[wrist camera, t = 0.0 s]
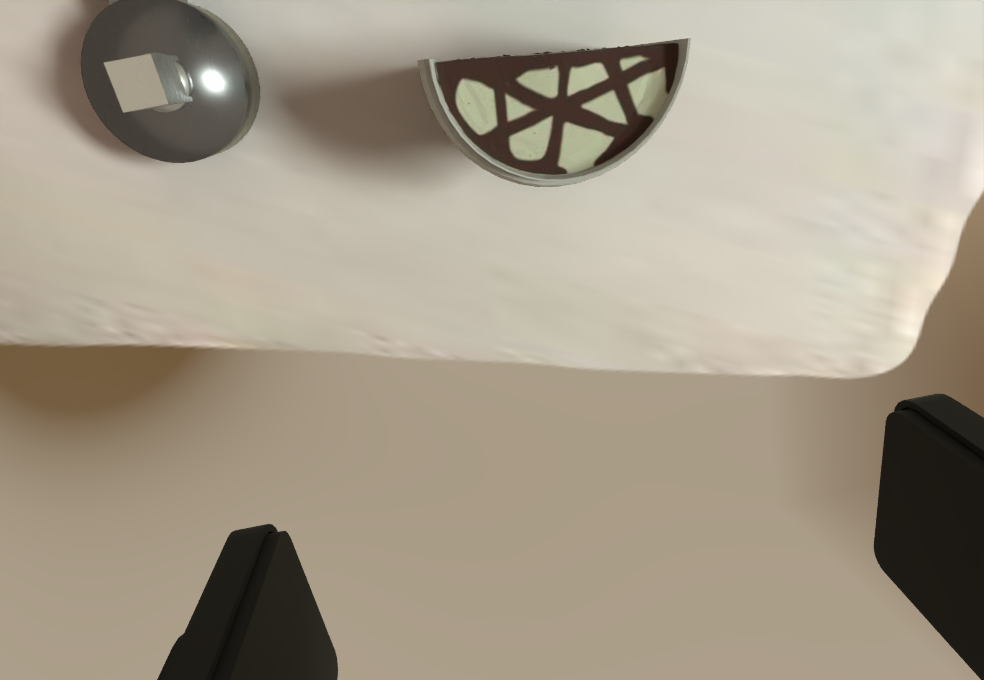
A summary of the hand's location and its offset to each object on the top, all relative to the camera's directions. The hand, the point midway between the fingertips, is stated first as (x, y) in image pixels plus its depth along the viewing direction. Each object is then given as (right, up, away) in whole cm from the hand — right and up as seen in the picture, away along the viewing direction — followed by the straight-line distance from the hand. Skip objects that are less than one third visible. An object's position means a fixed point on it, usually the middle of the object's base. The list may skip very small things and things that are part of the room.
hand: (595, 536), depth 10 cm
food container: (+1, +17, +27) cm, 32 cm away
